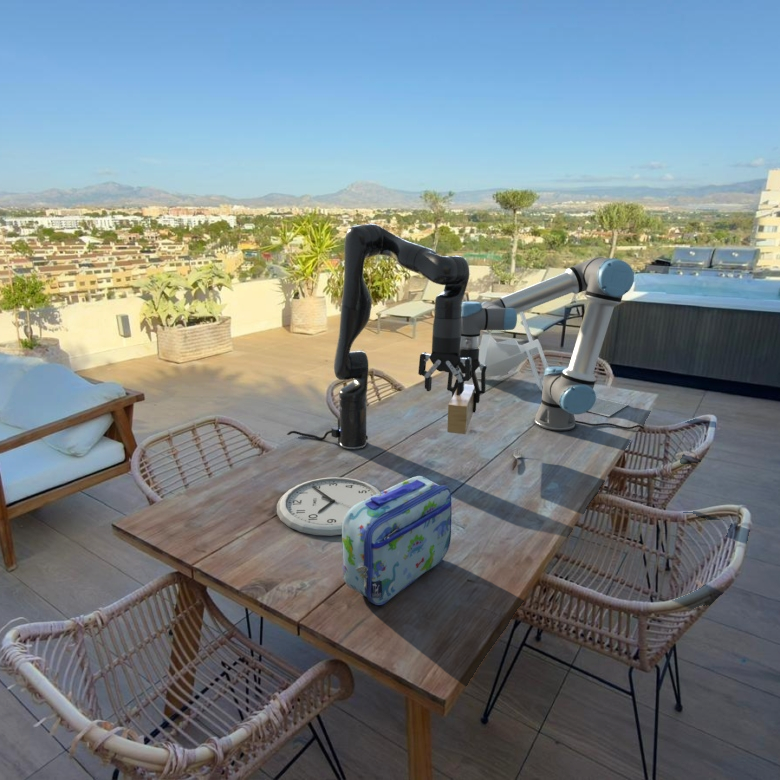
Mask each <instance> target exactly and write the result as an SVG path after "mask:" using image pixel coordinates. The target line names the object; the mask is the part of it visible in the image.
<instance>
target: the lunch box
mask: <svg viewBox="0 0 780 780" xmlns="http://www.w3.org/2000/svg"><path fill="white" fill-rule="evenodd" d="M452 511H453V510H452V491H451V489H450V487H449V486H447V485H444V484H442V485H440V484H437V483H436V482H434V481H432V480H430V479H428V478H427V477H425V476H422V475H416V476H413V477H411V478H408V479H406V480H403V481H401V482H399V483H397V484H395V485H393V486H390V487H388V488H386V489H384V490H382V491H381V492H380V493H378V494H376V495H374V496H372V497H370V498H368V499H366V500H364V501H362V502H360V503H358V504H356V505H354V506H353V507H352V508H351V509H350V510H349V511H348V512H347V514H346V516H345V518H344V521H343V525H342V535H341V543H342V544H341V545H342V569H343V578H344V583H345V585H346V586H347V587H349V588H351V589H352V590H354V591H356V592H357V593H360V594H361V595H362V596H363V597H365V598H367V601H369V603H372V604H373V605H376V606H383V605H385V604H386V603H388V602H389V601H390V600H391V599H392V598H394V597H395V596H396V595H397V594H399V593H400V592H401V591H403V590H404V589H406V588H407V587H408V586H410V585H411V584H413V583H414V582H416V580H417V579H418V578H420V576H422V575H423V574H425V573H426V572H428V571H430V570H432V569H433V568H435V567H436V566H438V565H439V564H440V563H441V562H442V561H443V560H444V558H445V557H446V555H447V552H448V551H449V548H450V544H451V539H452V515H453V514H452Z"/></svg>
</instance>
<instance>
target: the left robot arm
mask: <svg viewBox="0 0 780 780" xmlns="http://www.w3.org/2000/svg"><path fill="white" fill-rule="evenodd" d="M343 248H344V249H343V250H344V251H343V253H344V254H343V256H344V259H343V260H344V261H343V262H344V266H343V267H344V268H343V269H344V272H343V273H344V276H343V287H342V288H343V289H342V297H341V306H340V318H339V319H340V320H339V332H338V337H337V344H336V348H335V355H334V359H333V360H334V361H333V371H334V375H335V378H337V380H341V381H348V380H349V381H350V380H352V381H351V382H350V383H349V384H347V385H345V386H343V387H342V388H340V390H339V393H338V396H339V397H338V399H339V416H338V417H337V426H334V427H331V429H330V430H327V431H325V433H324V435H323V436H321V437H320V436H317V435H314V434H310V433H306V432H300V431H297V430H290V431H288V432H287V433H286V436H290V435H291V434H292V435H293V434H294V435H295V434H296V435H299V436H303V437H308V438H313V439H316V440H319V441H324V440H325V439H326V438H327V436H328V435H329V434H331V437H332V438H335V439H337V444H339V446H340V447H341V448H342V449H345V450H361V449H364V448H365V447H366V446H367V444H368V443H367V441H368V439H369V438H368V435H367V394H368V386H369V385H368V382H369V359H368V355H367V352H365V351H363V350H353V351H351V348H352V346H353V344H354V342H355V340H356V339H357V338H358V337H359V336H360V335H361V333H362V332H363V330H365V328H366V327H367V325H368V323H369V321H370V318H371V311H372V302H373V299H372V295H371V291H370V290H369V288H368V285H367V284H366V281H365V278H364V267H365V259H368V258H373V257H376V256H385V257H391V258H393V259H395V261H396V262H397V264H398V265H399V266H401V267H402V268H404V269H405V270H408V271H410V272H413V273H415V274H418V275H421V276H423V277H424V278H425V279H427V280H428V281H430V282H432V283H433V284H436V285H440V286H444V288H443V291H442V292H441V293H439V294H438V295H436V297H435V299H434V310H433V323H432V335H431V336H432V337H431V338H432V339H431V354H430V353H427V352H425V351H424V352H422V353H420V354H419V362H418V373H417V374H418V375H419V376H421V377H424V389H425V390H426V392H430V391H431V390H432V381H433V376H432V375H433V374H434V373H435V371H436V370H437V371H438V372H441V373H443V372H445V373H448V374H449V373H450V372H452V373H453V376H454V377H455V379H457V380H458V382H457V395H459V396H460V395H461V394H462V393H463V391H464V384H465V382H469V381H471V379H472V358H471V357H468V358H461V356H460V345H461V334H462V330H461V328H462V325H461V311H462V302H463V301H464V300H463V299H464V296H465V293H466V290H467V287H468V283H469V279H470V265H469V263H468V261H467V260H466V258H465V257H463V256H461V255H446V256H445V255H439V254H438V253H437V252H436V251H435V250H433V249H431V248H429V247H426V246H423V245H420V244H417V243H414V242H411V241H408V240H405V239H403V238H401V237H400V236H397V235H396V234H394V233H392V232H390V231H389V230H387V229H386V228H383V227H382V226H380V225H378V224H375V223H366V224H360V225H359V224H358V225H353V226H351V227H349V228H348V229H347V231H346V233H345V237H344V246H343ZM429 360H430V362H431V363H432V365H431V367H430V368H428V370H426V369H427V368H426V367H427V362H428V361H429ZM460 362H462V363H463V366H465V374H462V372H461V369H460V368H459V366H458V365H459V363H460Z"/></svg>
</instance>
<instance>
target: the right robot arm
mask: <svg viewBox="0 0 780 780" xmlns="http://www.w3.org/2000/svg"><path fill="white" fill-rule="evenodd" d="M634 283H635V274H634V270H633V269H632V267H631V265H630V264H629V263H628V262H627V261H624V260H622V259H619V258H613V257H612V258H610V257H602V256H596V257H593V258H590V259H587V260H585V261H583V262H580V263H578V264H575V265H573V266H570V267H567V269H566V270H565V272H563V273H561V274H558V275H556V276H553V277H550V278H548V279H546V280H543V281H541V282H538V283H535V284H533V285H530V286H527V287H525V288H522V289H520V290H517V291H515V292H513V293H510V294H507V295H505V296H501V297H500V298H497V299H495V300H492V301H490V300H488V301H487V300H486V301H483V302H478V301H462V311H461V325H462V328H461V330H462V334H461V345H460V356H461V358H468V357H471V358H472V378H471V379H472V383H473V384H472V385H474V388H475V393H474V403H473V414H474V413H476V411H477V404H479V403H480V401H481V400H480V398H481V395H482V394H486V377H485V371H486V368H487V365H482V364H480V362H479V349H480V344H481V331H512V330H515V328H516V327H517V324H518V323H517V322H518V314H520V312H523V313H524V312H526V311H528V310H531V309H533V308H536V307H538V306H540V305H543V304H546V303H549V302H551V301H553V300H556V299H559V298H561V297H564V296H567V295H569V294H571V293H572V294H575V295H577V294H579V293H583V292H585V293H584V294H585V295H584V296H585V298H586V299H587V304H586V307H585V311H584V313H583V317H582V320H581V324H580V327H579V331H578V333H577V336H576V339H575V344H574V348H573V351H572V354H571V356H570V357H571V358H570V361H569V364H568V366H548V368H546V369H545V368H544V373H543V381H542V382H543V383H542V387H543V390H542V391H541V392H542V394H541V402H540V405H539V407H538V410H537V411H536V413H535V417H534V424H535V425H536V426H537V427H539V428H542V429H544V430H549V431H556V432H567V431H572V430H574V429H575V428H576V423H577V424H582V425H585V426H592V427H596V426H597V427H598V426H612V427H615V428H619V429H624V430H633V429H635V428H640V429H641V430H642V429H643V430H645V427H644V426H642V425H640V424H636V425H633V426H622V425H618V424H616V423H610V422H602V423H589V422H585V421H579V420H576V418H575V417H576V416H575V415H582V414H586V412H588V411H589V410H590V409H591V408H592V407H593V405H594V403H595V401H596V397H597V395H596V391H595V389H594V387H595V384H596V382H597V379H596V376H595V375H594V372H595V369H596V366H597V362H598V359H599V356H600V354H601V350H602V347H603V343H604V340H605V337H606V334H607V331H608V327H609V324H610V321H611V318H612V315H613V311H614V308H615V307H617V306H618V305H620V304H621V302H622V299H623V296H625V295H626V294H627V293H628V292H630V290H631V289H632V287H633V285H634ZM458 366H459V368H460V369H461V372H462V374H463V375H465V366H463V363H462V362H460V363H459V365H458ZM478 367H480V370H481V371H482V372H481V378H480V384H479V382H478V378H477V377H476V372H475V370H476V369H477V368H478ZM453 376H454V375H453V373H452V372H450V373H449V372H448V375H447V385H446V390H447V391H448V392H450V393H451V398H452V397H453V395H454V393H455V391H456V389H457V382H458V380H457V378H455V381H454V384H453ZM479 385H480V386H479Z"/></svg>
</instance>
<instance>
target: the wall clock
mask: <svg viewBox="0 0 780 780" xmlns="http://www.w3.org/2000/svg"><path fill="white" fill-rule="evenodd" d="M380 492H382V491H381V490H380V489H379V488H377V487H376V486H374V485H372V484H371V483H369V482H365V481H362V480H359V479H355V478H349V477H338V476H337V477H335V476H333V477H332V476H331V477H322V478H317V479H312V480H307V481H305V482H302V483H299V484H297V485H295V486H293V487H292V488H290V489H288V490H287V491H286V492H285V493H284V494H283V495H281V496H280V498H279V499H278V502H277V503H276V515H277V517H278V518H279V520H280V521H281V522H282V523H283V524H285V525H286V526H287V527H288V528H290V529H293V530H295V531H297V532H299V533H303V534H308V535H312V536H327V537H328V536H329V537H331V536H332V537H333V536H342V525H343V521H344V518H345V516H346V514H347V512H348V511H349V510H350V509H351V508H352V507H353V506H354V505H356V504H358V503H360V502H362V501H364V500H366V499H368V498H370V497H372V496H374V495H376V494H378V493H380Z"/></svg>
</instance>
